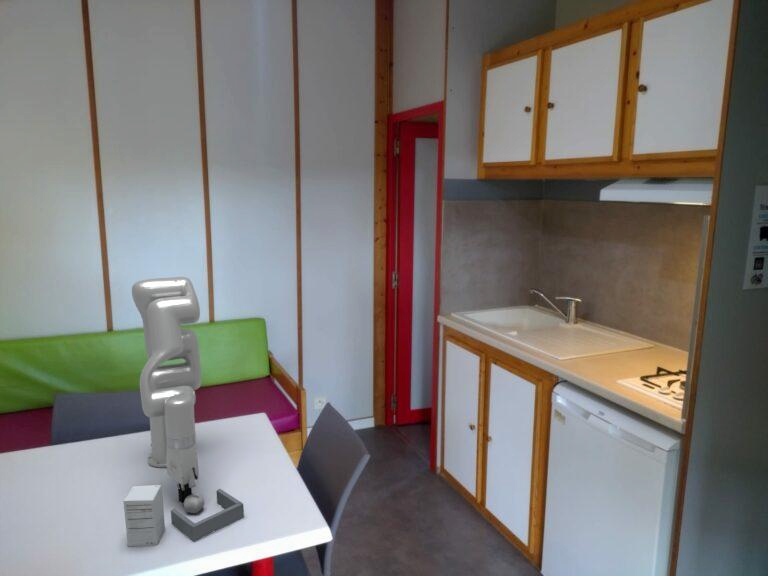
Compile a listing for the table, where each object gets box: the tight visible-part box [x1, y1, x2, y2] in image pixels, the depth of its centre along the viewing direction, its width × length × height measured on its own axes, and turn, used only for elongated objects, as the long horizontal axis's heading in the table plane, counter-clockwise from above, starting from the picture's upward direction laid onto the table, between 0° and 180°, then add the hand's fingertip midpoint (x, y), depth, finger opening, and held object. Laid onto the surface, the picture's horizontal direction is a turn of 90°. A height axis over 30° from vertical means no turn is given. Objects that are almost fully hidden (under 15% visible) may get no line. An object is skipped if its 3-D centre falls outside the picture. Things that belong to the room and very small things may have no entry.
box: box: [170, 488, 245, 542], centre depth 155 cm, size 11×15×4 cm
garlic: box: [183, 493, 205, 514], centre depth 159 cm, size 6×5×5 cm
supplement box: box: [123, 484, 166, 547], centre depth 147 cm, size 7×7×13 cm
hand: (185, 500), depth 163 cm, fingers closed
